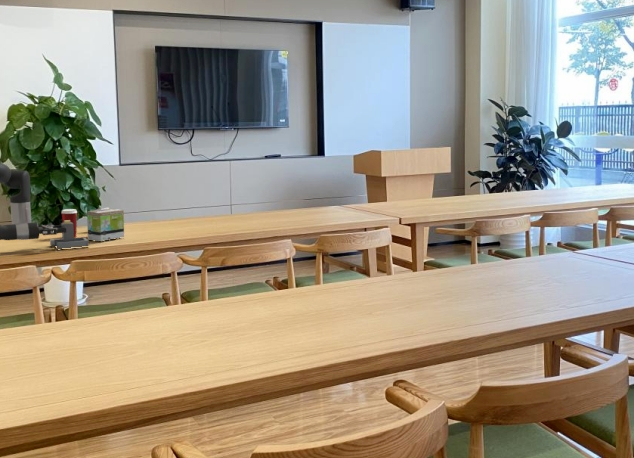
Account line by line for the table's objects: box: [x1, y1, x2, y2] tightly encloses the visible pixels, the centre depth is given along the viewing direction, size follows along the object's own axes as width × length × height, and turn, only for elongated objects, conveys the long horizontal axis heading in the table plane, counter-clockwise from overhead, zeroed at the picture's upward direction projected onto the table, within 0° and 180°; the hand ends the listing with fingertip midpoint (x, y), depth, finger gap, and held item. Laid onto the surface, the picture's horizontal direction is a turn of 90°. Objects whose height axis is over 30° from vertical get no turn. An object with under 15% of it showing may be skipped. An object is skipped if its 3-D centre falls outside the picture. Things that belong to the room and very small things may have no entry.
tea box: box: [86, 208, 125, 242], centre depth 339 cm, size 15×10×15 cm, turn 148°
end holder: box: [53, 236, 90, 250], centre depth 319 cm, size 10×14×4 cm
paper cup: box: [60, 208, 78, 238], centre depth 344 cm, size 8×8×14 cm
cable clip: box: [49, 238, 55, 247], centre depth 322 cm, size 3×4×3 cm
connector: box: [61, 220, 74, 242], centre depth 317 cm, size 4×4×12 cm
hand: (64, 228), depth 317 cm, fingers open, 8 cm apart
